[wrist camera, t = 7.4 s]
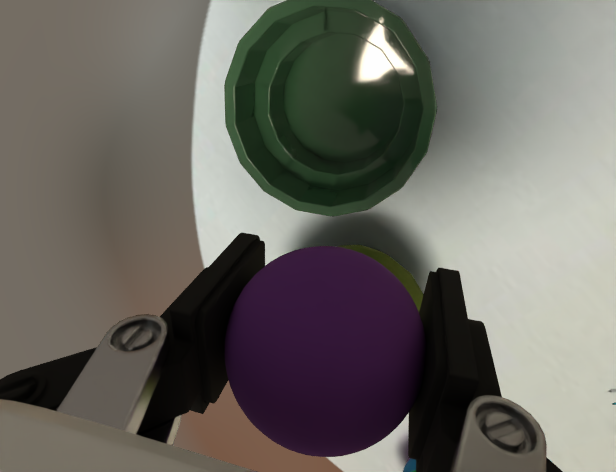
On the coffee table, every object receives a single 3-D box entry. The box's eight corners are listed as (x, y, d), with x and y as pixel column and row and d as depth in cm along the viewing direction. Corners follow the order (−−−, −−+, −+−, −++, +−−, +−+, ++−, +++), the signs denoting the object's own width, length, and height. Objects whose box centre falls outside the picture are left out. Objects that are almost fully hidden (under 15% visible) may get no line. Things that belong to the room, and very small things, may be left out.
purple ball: (266, 202, 11) (169, 306, 7) (441, 230, 10) (460, 373, 6) (265, 330, 13) (194, 467, 9) (407, 363, 12) (402, 534, 8)
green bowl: (266, -3, 22) (221, -17, 17) (450, 11, 20) (463, -1, 15) (263, 168, 27) (227, 198, 22) (409, 192, 25) (408, 230, 20)
